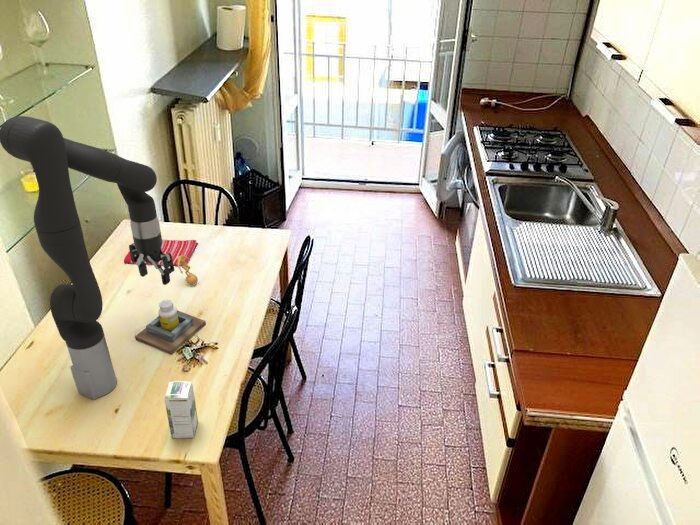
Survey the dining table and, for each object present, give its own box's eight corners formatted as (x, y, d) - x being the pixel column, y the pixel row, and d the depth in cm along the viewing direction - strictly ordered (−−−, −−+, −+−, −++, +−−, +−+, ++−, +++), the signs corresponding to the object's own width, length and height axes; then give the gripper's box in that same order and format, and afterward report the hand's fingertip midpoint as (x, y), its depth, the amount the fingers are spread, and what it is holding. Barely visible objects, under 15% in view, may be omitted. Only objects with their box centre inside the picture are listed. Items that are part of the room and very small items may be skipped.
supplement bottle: (158, 328, 175) (153, 303, 170) (173, 320, 179) (169, 295, 173) (167, 336, 172) (163, 311, 167) (183, 328, 176) (178, 303, 170)
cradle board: (171, 354, 168) (169, 344, 166) (135, 340, 173) (133, 329, 171) (205, 324, 180) (204, 314, 178) (171, 311, 185) (169, 301, 183)
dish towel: (139, 241, 222) (137, 235, 221) (199, 244, 222) (198, 238, 220) (122, 265, 208) (121, 259, 206) (186, 268, 207) (185, 262, 206)
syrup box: (176, 421, 147) (167, 380, 139) (199, 420, 147) (192, 380, 139) (171, 438, 142) (162, 398, 134) (195, 438, 143) (187, 397, 135)
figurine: (194, 291, 194) (189, 262, 188) (177, 290, 195) (172, 261, 188) (201, 278, 201) (197, 249, 195) (185, 276, 202) (180, 248, 195)
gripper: (117, 230, 157) (127, 278, 166) (156, 243, 152) (164, 292, 161) (137, 219, 163) (146, 266, 172) (175, 231, 158) (182, 279, 166)
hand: (155, 279), depth 166 cm, fingers open, 8 cm apart
